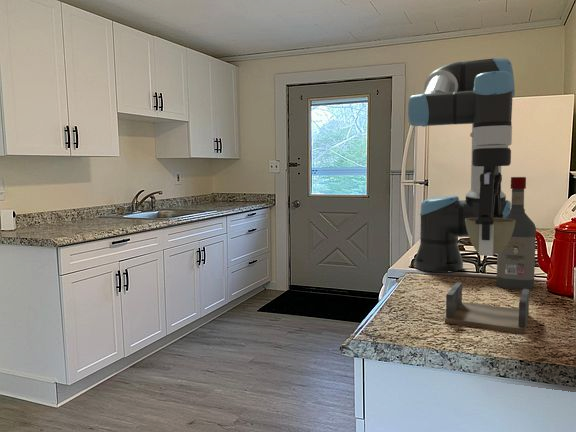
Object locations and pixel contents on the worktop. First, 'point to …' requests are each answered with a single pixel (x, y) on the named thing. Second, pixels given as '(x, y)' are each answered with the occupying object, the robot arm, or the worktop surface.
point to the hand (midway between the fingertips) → (489, 251)
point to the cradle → (486, 313)
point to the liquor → (518, 245)
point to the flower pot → (501, 233)
